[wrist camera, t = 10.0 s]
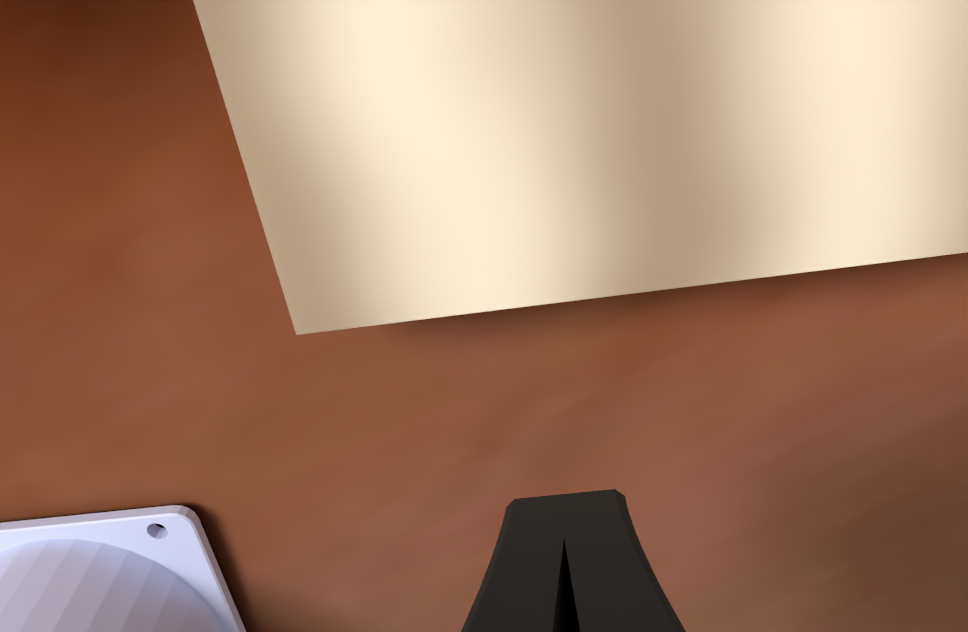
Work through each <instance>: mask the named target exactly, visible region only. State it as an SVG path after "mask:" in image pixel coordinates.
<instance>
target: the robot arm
mask: <svg viewBox="0 0 968 632" xmlns="http://www.w3.org/2000/svg"><path fill="white" fill-rule="evenodd" d="M154 523H155V524H160V525H162V526H164V527H165V528H160V527H158V526H156V525H155V524H154ZM0 632H246V630H245V628H244V625H243V623H242V620H241V618H240V616H239V613H238V611H237V608H236V606H235V604H234V601H233V599H232V596H231V594H230V592H229V589H228V587H227V584H226V582H225V580H224V577H223V575H222V572H221V570H220V568H219V565H218V563H217V560H216V558H215V556H214V553H213V551H212V548H211V546H210V544H209V541H208V539H207V536H206V534H205V532H204V529H203V527H202V524H201V522H200V520H199V518H198V516H197V515H196V513H195V512H194V511H192V510H191V509H189V508H187V507H184V506H181V505H170V506H160V507H151V508H141V509H131V510H121V511H111V512H102V513H92V514H82V515H72V516H62V517H52V518H43V519H33V520H23V521H13V522H3V523H0ZM461 632H686V631H685V629H684V628H683V626H682V624H681V622H680V621H679V619H678V617H677V615H676V613H675V612H674V610H673V608H672V606H671V604H670V603H669V601H668V599H667V597H666V596H665V594H664V592H663V590H662V588H661V586H660V584H659V582H658V580H657V578H656V576H655V575H654V573H653V570H652V568H651V566H650V564H649V562H648V560H647V558H646V555H645V553H644V551H643V549H642V547H641V544H640V542H639V539H638V537H637V535H636V532H635V529H634V527H633V524H632V521H631V518H630V515H629V512H628V508H627V504H626V499H625V496H624V495H623V494H621V493H620V492H618V491H617V490H615V489H612V490H602V491H592V492H581V493H571V494H561V495H551V496H541V497H531V498H520V499H514V500H513V501H512V502H511V503H510V504H509V505H508V506H507V507H506V511H505V515H504V520H503V523H502V527H501V530H500V533H499V537H498V540H497V543H496V546H495V549H494V552H493V555H492V558H491V561H490V563H489V566H488V568H487V571H486V574H485V576H484V579H483V582H482V584H481V587H480V589H479V592H478V594H477V596H476V599H475V601H474V603H473V606H472V608H471V610H470V612H469V615H468V617H467V619H466V622H465V624H464V626H463V629H462V631H461Z"/></svg>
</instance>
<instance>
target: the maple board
mask: <svg viewBox="0 0 968 632" xmlns="http://www.w3.org/2000/svg"><path fill="white" fill-rule="evenodd" d="M193 1H194V5H195V8H196V11H197V14H198V18H199V21H200V24H201V27H202V30H203V34H204V37H205V40H206V43H207V47H208V50H209V53H210V56H211V60H212V63H213V66H214V69H215V73H216V76H217V79H218V82H219V86H220V89H221V92H222V95H223V98H224V102H225V105H226V108H227V111H228V115H229V118H230V121H231V124H232V128H233V131H234V134H235V137H236V141H237V144H238V147H239V150H240V154H241V157H242V160H243V163H244V166H245V170H246V173H247V176H248V179H249V183H250V186H251V189H252V192H253V196H254V199H255V202H256V205H257V209H258V212H259V215H260V218H261V222H262V225H263V228H264V231H265V234H266V238H267V241H268V244H269V247H270V251H271V254H272V257H273V260H274V264H275V267H276V270H277V273H278V277H279V280H280V283H281V286H282V290H283V293H284V296H285V299H286V302H287V306H288V309H289V312H290V315H291V319H292V322H293V325H294V328H295V332H296V335H299V334H307V333H315V332H323V331H331V330H339V329H348V328H356V327H364V326H372V325H380V324H388V323H396V322H405V321H413V320H421V319H429V318H437V317H445V316H453V315H462V314H470V313H478V312H486V311H494V310H502V309H510V308H518V307H527V306H535V305H543V304H551V303H559V302H567V301H575V300H584V299H592V298H600V297H608V296H616V295H624V294H632V293H641V292H649V291H657V290H665V289H673V288H681V287H689V286H697V285H706V284H714V283H722V282H730V281H738V280H746V279H754V278H763V277H771V276H779V275H787V274H795V273H803V272H811V271H820V270H828V269H836V268H844V267H852V266H860V265H868V264H876V263H885V262H893V261H901V260H909V259H917V258H925V257H933V256H942V255H950V254H958V253H966V252H968V0H193Z"/></svg>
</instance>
